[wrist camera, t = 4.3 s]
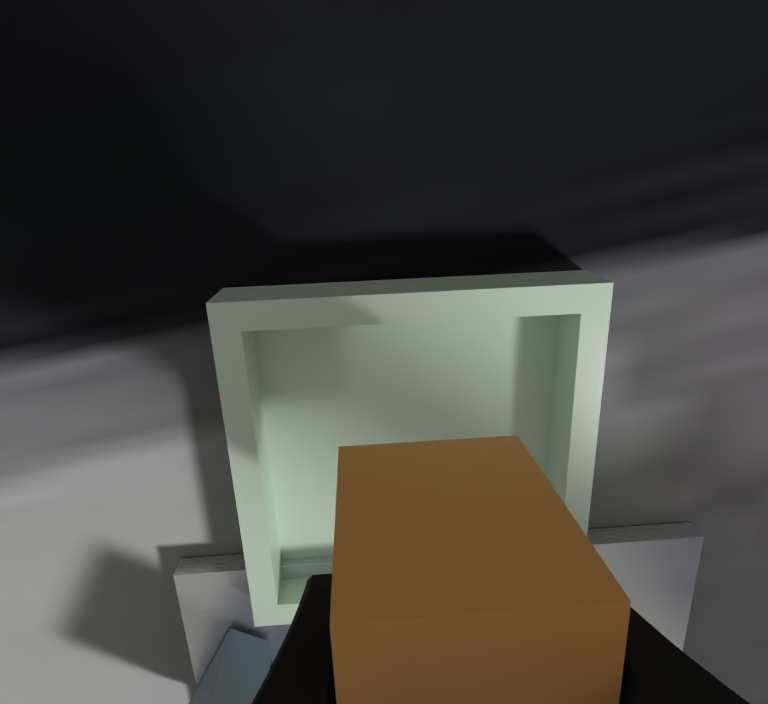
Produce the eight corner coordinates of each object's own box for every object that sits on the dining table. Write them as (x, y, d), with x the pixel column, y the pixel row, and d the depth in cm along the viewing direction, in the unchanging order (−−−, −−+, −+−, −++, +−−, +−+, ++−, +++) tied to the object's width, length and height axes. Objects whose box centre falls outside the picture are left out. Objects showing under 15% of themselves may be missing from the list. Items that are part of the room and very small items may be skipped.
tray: (583, 270, 16) (613, 282, 14) (558, 561, 19) (580, 601, 17) (222, 287, 15) (205, 303, 13) (264, 582, 19) (254, 626, 17)
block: (511, 582, 13) (606, 811, 8) (349, 595, 13) (348, 836, 8) (517, 435, 12) (631, 602, 7) (338, 446, 12) (329, 624, 7)
